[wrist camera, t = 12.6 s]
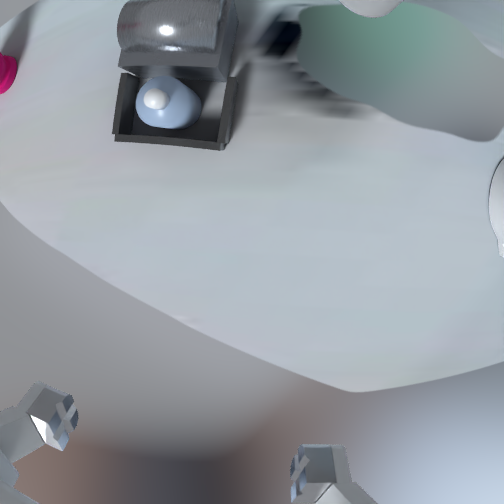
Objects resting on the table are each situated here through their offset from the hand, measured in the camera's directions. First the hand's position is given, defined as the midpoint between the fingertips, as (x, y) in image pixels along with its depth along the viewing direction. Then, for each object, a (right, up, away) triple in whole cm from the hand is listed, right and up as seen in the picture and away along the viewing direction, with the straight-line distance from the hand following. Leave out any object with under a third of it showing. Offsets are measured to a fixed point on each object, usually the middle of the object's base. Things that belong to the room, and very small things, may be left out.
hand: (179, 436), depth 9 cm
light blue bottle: (-6, +22, +23) cm, 32 cm away
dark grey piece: (-5, +26, +21) cm, 34 cm away
